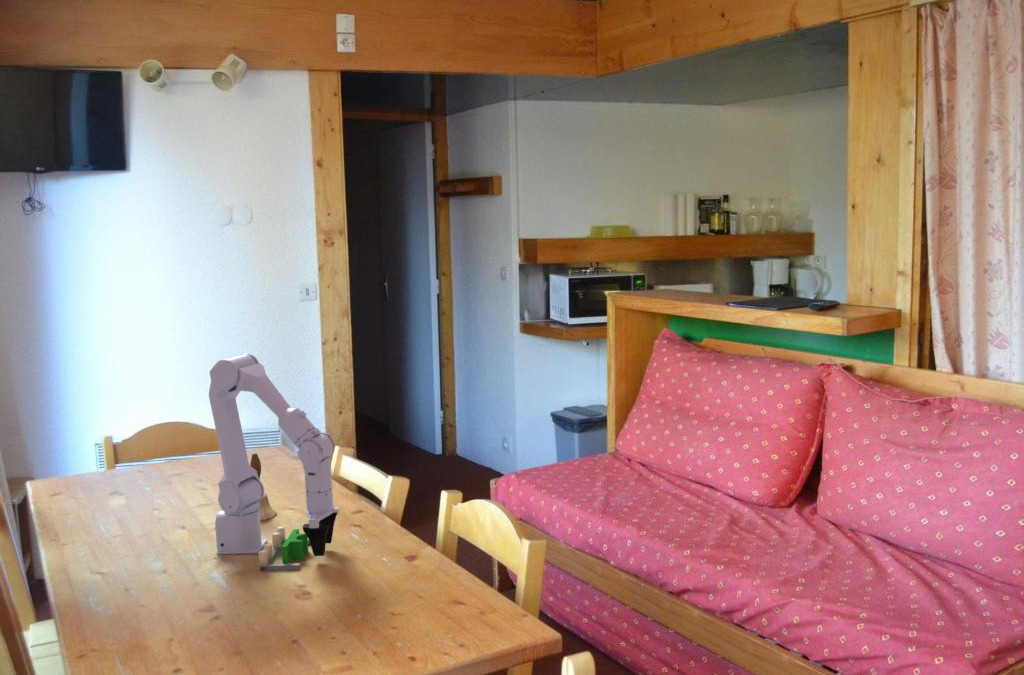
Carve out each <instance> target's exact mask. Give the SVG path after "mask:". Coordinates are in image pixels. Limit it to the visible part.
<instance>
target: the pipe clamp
mask: <svg viewBox="0 0 1024 675" xmlns="http://www.w3.org/2000/svg"><path fill="white" fill-rule="evenodd" d="M286 539H287V540H286V541H285V542H284V544H283V545H282V549H281V556H282V557H281V559H282V564H289V563H291V562H292V560H301V561H304V560H305V557H304V556H305V555H304V554H308V553H309V545H308V537H307V535H306V534H305V532H304V533H303V532H302V533H300V530H299V528H293V530H292V532H290V534H289V535H288V536H287V538H286ZM307 552H308V553H307ZM303 559H304V560H303Z"/></svg>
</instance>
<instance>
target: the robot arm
mask: <svg viewBox="0 0 1024 675" xmlns="http://www.w3.org/2000/svg"><path fill="white" fill-rule="evenodd" d="M209 376H210V385H209V390H208V398H209V404H210V408H211V412H212V413H211V414H212V418H213V422H214V428H215V432H216V437H217V442H218V447H219V451H220V456H221V461H222V462H221V463H222V466H223V473H222V475H221V476H220V479H219V481H218V489H219V490H218V491H219V492H218V495H217V496H218V497H217V501H218V505H219V507H220V509H221V510H219V511H218V512H217V514H216V517H215V522H214V524H215V539H216V555H233V554H234V555H235V554H237V555H238V554H240V555H241V554H257V553H258V552H259V551H262V548H264V545H265V544H267V543H268V539H267V538H262V533H261V532H262V531H261V521H260V515H259V506H260V500H261V499H262V498H263V496H264V493H265V487H264V484H263V482H262V481H261V478H260V479H259V477H258V474H257V471H256V470H255V469H254V468H252V467H251V466H250V464H249V458H248V452H247V448H246V444H245V438H244V434H243V433H244V432H243V429H242V428H243V427H242V424H241V419H240V414H239V408H238V405H237V399H236V398H237V397H238V396H239V394H240V393H241V392H249V393H253V394H254V395H255V396H256V397H258V399H260V401H262V403H263V404H265V405H266V407H268V408H269V410H270V411H271V412H272V413H273V414H275V416H276V417H277V419H278V420H277V421H278V424H277V425H278V427H279V428H280V429H281V430H282V432H283V433H284V434H285V435H286V436H287V437H288V439H289V440H290V441H291V443H293V444H294V446H295V447H296V448H297V449H298V451H297V456H298V458H299V460H300V462H301V463H302V468H303V471H304V486H305V498H306V499H305V500H306V501H305V502H306V509H305V513H306V514H305V515H306V516H307V518H308V523H304V524H303V526H302V531H303V532H304V533H305V534H306V535H307V537H308V539H309V541H310V544H311V545H310V547H311V550H312V551H311V552H312V553H313V556H314V557H324V555H325V552H326V545H327V544H332V540H333V534H334V526H335V521H336V519H337V515H338V514H339V511H340V507H339V506H334V495H333V480H332V479H333V478H332V477H333V476H332V466H331V465H332V464H331V463H332V462H331V456H332V455H333V454H334V451H335V443H334V440H333V438H332V437H331V434H329V433H327V432H325V431H320V430H319V428H316V427H315V425H314V424H313V422H311V421H310V419H309V418H308V417H307V413H306V412H305V411H304V410H301V408H299V407H292V406H290V404H289V403H288V402H287V400H286V399H285V398H284V396H283V395H282V393H281V392H280V391H279V390H278V388H277V387H276V386H275V384H274V383H273V382H272V380H271V379H270V378H269V376H268V375H267V373H266V369H265V366H264V364H262V363H260V362H259V360H258V359H257V357H256V356H255V355H253V354H251V353H247V352H246V353H243V354H239V355H236V356H234V357H231V358H230V357H229V358H225V359H219V361H217V362H216V363H215V364H214V365H213V367H212V368H211V369H210V370H209ZM258 554H259V553H258Z"/></svg>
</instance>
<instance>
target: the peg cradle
mask: <svg viewBox="0 0 1024 675" xmlns="http://www.w3.org/2000/svg"><path fill="white" fill-rule="evenodd" d="M271 537H272V538H271V539H272V543H269V542H268V543H265V544H264V546H263V550H262V549H261V550H260V551H259V552H258V564H259V567H260V568H259V569H260V572H266V571H267V572H268V571H269V572H270V571H271V572H273V570H275V571H298V570H297V569H299V570H301V563H300V562H297V563H296V562H295V563H291V562H290V564H283V563H273V562H274V560H275V559H276V558H277V556H278V555H279V553H280V551H282V545H283V544H284V542H285V541H286V540H287V538H286V527H285V526H282V525H281V526H277V527H276V532H273V533H271ZM308 544H310V541H309V539H308ZM277 554H278V555H277Z"/></svg>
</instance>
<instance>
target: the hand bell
mask: <svg viewBox="0 0 1024 675" xmlns="http://www.w3.org/2000/svg"><path fill="white" fill-rule="evenodd" d="M249 466H251V467H252V468H254V469H255V470H256V471H257V474H258V477H259V479H260V480H261V474H262V462H261V460H260V457H259V455H258V453H256V452H255V453H251V459H250V464H249ZM259 515H260V522H261V521H266V520H269V519H272V518H274V517H276V516H277V515H278V514H277V511H276V509H274V508H273V507H272V506H271V504H270V500H269V497H268V494H267V493H265V492H264V496H263V498H262V499H261V500H260V506H259Z"/></svg>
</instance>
